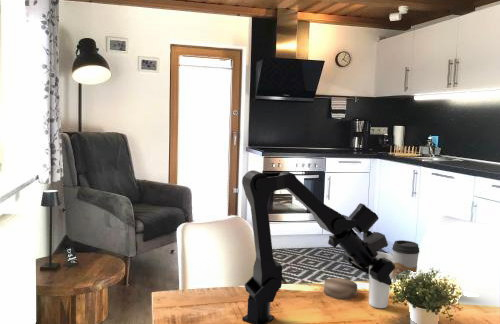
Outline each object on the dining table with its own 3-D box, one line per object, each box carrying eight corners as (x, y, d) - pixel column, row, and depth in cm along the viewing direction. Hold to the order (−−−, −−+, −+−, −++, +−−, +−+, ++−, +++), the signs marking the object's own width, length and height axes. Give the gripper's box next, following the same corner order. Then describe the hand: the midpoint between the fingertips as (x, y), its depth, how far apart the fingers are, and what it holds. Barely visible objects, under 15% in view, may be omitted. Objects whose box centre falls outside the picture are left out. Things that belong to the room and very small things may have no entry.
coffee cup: (384, 287, 147) (387, 242, 146) (398, 282, 153) (401, 238, 152) (408, 295, 141) (411, 248, 140) (421, 289, 147) (424, 244, 145)
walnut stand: (349, 302, 134) (350, 292, 134) (318, 294, 140) (319, 284, 140) (361, 292, 143) (361, 282, 142) (331, 284, 148) (332, 275, 148)
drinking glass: (391, 311, 129) (395, 259, 127) (366, 308, 130) (370, 257, 129) (388, 302, 135) (392, 253, 134) (365, 299, 137) (369, 250, 135)
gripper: (391, 232, 120) (423, 270, 125) (353, 217, 138) (382, 250, 142) (364, 263, 118) (396, 300, 123) (329, 244, 136) (359, 277, 141)
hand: (383, 280), depth 132 cm, fingers closed on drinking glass, 6 cm apart
